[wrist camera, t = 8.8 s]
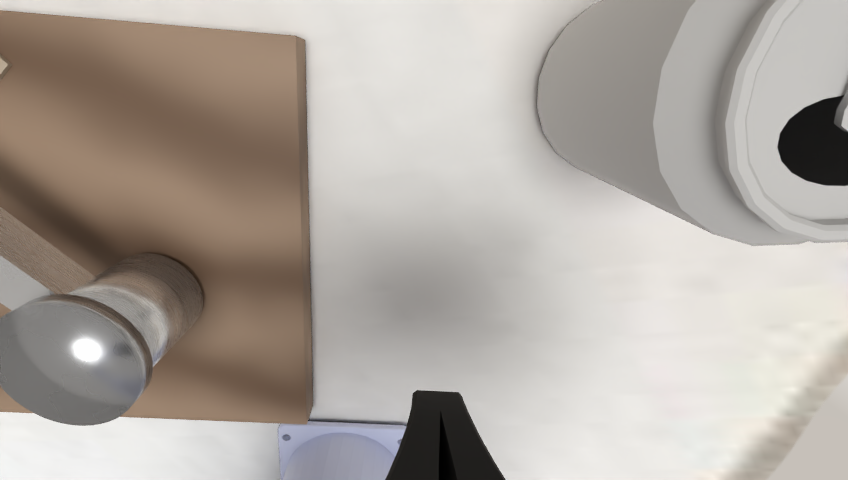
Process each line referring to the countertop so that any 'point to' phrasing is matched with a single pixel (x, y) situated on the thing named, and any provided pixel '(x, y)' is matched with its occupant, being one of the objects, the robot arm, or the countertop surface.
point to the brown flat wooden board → (173, 190)
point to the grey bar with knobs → (85, 326)
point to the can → (710, 111)
